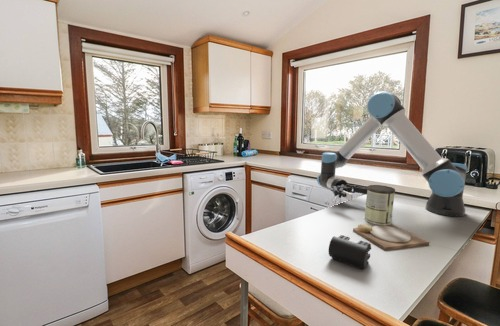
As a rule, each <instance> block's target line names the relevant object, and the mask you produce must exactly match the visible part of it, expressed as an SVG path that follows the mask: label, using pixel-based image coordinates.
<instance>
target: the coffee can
mask: <svg viewBox="0 0 500 326" xmlns="http://www.w3.org/2000/svg"><path fill="white" fill-rule="evenodd" d="M366 188H367V194H366V199H365V202H366V203H365V212H364V213H365V214H364V220H365V222H367V223H370V224H373V225H376V226H382V225H392V222H393V221H392V220H393V210H394V203H395V192H396V189H395V188H393V187H391V186H388V185H381V184H371V185H367V187H366Z"/></svg>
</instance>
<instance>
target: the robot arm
mask: <svg viewBox="0 0 500 326" xmlns="http://www.w3.org/2000/svg"><path fill="white" fill-rule="evenodd" d="M366 105H367V106H366V107H367V112H368V114H370V116H369V117H368V118H367V119H366V120H365V121H364V122H363V123H362V124H361V126H360V127H359V128H358V129H357V130H356V131H355V132H354V133H353V134H352V135H351V137H350V138H349V139H348V140H347V141H346V142H344V144H343V145H342V146H341V147H340V149H338V151H337V152H336V153H335V152H323V153H322V154H321V164H320V165H321V167H320V173H319V174H318V176H317V178H316V182H317V184H318V185H319V186H321V187H322V188H324V189H327V190H329V191H331V192H332V193H333V195H334V197H337V196H338V198H340V199H341V198H342V197H343V198H345V199H346V200H349V201H353V196H354V194H355V193H356V194H364V195H367V187H366V186H360V185H357V184H353V185H352V184H349V183H348V182H347V181H346V180H345V179H342V178H340V177H337V176H336V170H337V169H339V168H343V167H344V166H346V164H347V163H348V160H350V159H351V158H352V156H354V155H355V154H356V152H357V151H359V149H361V148H362V147H363V146H364V144H365V143H366V142H367V141H368V140H369V139H371V138H372V136H373V135H374V134H375V133H377V132H378V130H379V129H381V127H387V128H388V129H389V130H390V132H392V135H393V136H394V137H395V138H396V139H397V140H398V141H399V143H400V144H401V145H402V146H403V147H404V149H405V150H406V151H407V153H408V154H409V155H410V156H411V157H412V158H413V160H414V161H415V163H417V165H418V166H419V167H420V168H421V176H422V177H423V178H424V179H425V180H426V182H427V183H428V186H429V189H430V190H431V194H430V195H429V198H428V200H427V202H426V203H425V209H426V210H427V211H429V212H431V213H434V214H437V215H441V216H449V217H464V216H465V215H466V208H465V203H464V199H463V198H464V197H463V195H464V190H465V185H466V182H465V181H466V177H467V172H468V168H467V165H466V164H465V163H457V162H452V161H450V159H448V158H445V157H442V156H441V155H440V154H439V153H438V151H436V149H435V148H434V147H433V146H432V144H431V143H430V142H429V141H428V140H427V139H426V137H425V136H424V135H423V134H422V133H421V132H420V131H419V129H418V128H417V127H416V126H415V125H414V124H413V123H412V121H411V120H410V119H409V118H408V116H407V115H406V108H405V107H404V105H402V102H401V100H400V98H399V97H398V96H397V95H395V94H393V93H390V92H389V91H379V92H376V93H374V94H372V96H371V97H370V98H369V99H368V100H367V104H366Z"/></svg>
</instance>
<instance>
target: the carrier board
mask: <svg viewBox="0 0 500 326" xmlns="http://www.w3.org/2000/svg"><path fill="white" fill-rule="evenodd" d="M352 229H353V230H352V231H353V232H354V233H356V234H358V235H359V236H361V237H362V238H364V239H365V240H367V241H368V242H369V243H372V244H373V245H375V246H377V247H378V248H380V249H381V250H383V251H390V250H399V249H406V248H407V249H408V248H413V247H414V248H416V247H422V246H423V247H424V246H429V245H430V241H428V240H427V239H424V238H422V237H420V236H418V235H416V234H413V233H412V232H409V231H408V230H405V229H403V228H401V227H399V226H397V225H394V224H390V225H373V226H370V225H368V224H358V225H357V227H354V228H352Z"/></svg>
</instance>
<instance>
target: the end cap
mask: <svg viewBox="0 0 500 326" xmlns="http://www.w3.org/2000/svg"><path fill="white" fill-rule="evenodd" d="M350 240H351V237H350V236H346V235H343V234H342V235H341V234H340V235H339V236H338V237H337V236H332V238H331V239H330V241H329V246H328V255H329V257H331V258H332V259H333V260H336V261H339V262H342V263H345V264H347V265H350V266H352V267H356V268H359V269H361V270H365V269H366V268H367V267H368V266H369V264H370V263H369V262H370V261H369V260H370V257H371V253H369V252H370V251H371V250H372V247H371V246H372V245H371V242H367V241H363V240H358V242H354V241H350Z"/></svg>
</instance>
